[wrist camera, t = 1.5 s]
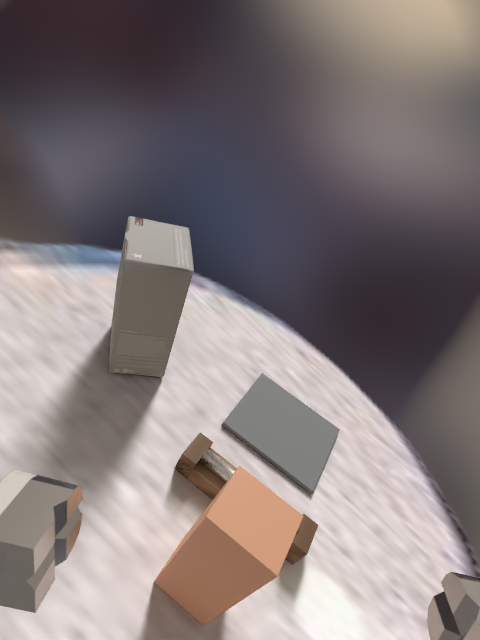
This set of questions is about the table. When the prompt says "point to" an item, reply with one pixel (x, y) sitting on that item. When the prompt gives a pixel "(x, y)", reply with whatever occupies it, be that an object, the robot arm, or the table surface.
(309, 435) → the mat
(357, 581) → the table surface
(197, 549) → the orange rectangular block
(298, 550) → the bar
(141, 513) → the table surface
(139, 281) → the skincare box
